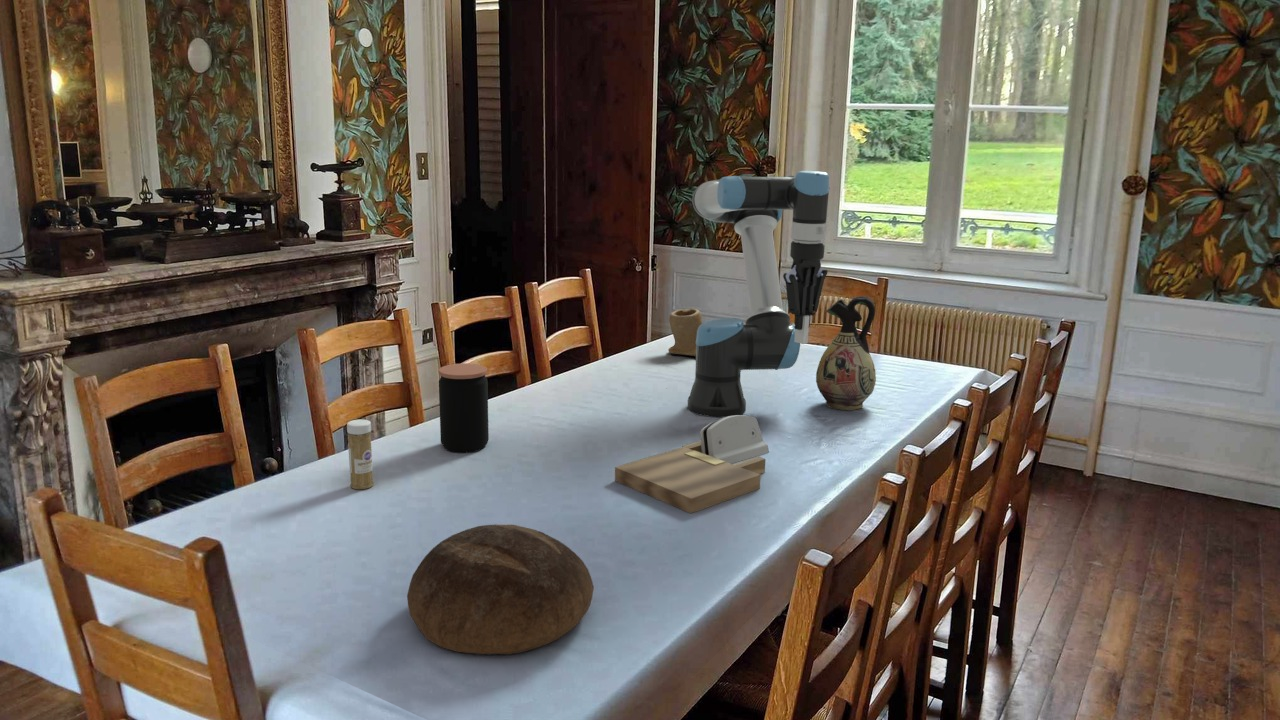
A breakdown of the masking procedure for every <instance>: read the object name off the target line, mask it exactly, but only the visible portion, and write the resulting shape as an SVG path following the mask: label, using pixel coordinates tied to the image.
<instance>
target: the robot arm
mask: <svg viewBox="0 0 1280 720" xmlns="http://www.w3.org/2000/svg"><path fill="white" fill-rule="evenodd" d="M830 189H831V188H830V175H829V174H828V173H827V172H825V171H817V170H799V171H798V172H796V174H795V175H788V176H738V175H731V176H730V175H729V176H723V177H721V178H720V179H715V180H713V179H712V180H709V181H705V182H703V183H701V184H700V185H698V186H697V187H696V189H695V190H694V192H693V194H692V198H691V199H692V200H691V202H692V206H693V209H694V211H695V212H696V213H697V214H698V215H699V216H700V217H701V218H702V219H706V220H708V221H711V222H715V223H722V224H726V223H728V224H733V228H734V231H735V234H738V235H739V236H740V239H741V245H742V246H741V248H742V254H743V255H742V256H743V264H744V272H745V273H744V274H745V281H746V288H747V289H746V291H747V297H748V306H749V314H750V315H749V316H748V317H747V318H746V320H745V324H744V322H743V320H742V319H741V318H735V317H732V318H730V317H721V318H715V319H710V320H707V321H703V322H702V324H701V325H700V326H699V327H698V330H697V338H696V356H695V372H694V376H695V377H694V380H693V385H692V387H691V390H690V393H689V396H688V398H687V410H688V411H689V412H690V413H693V414H697V415H700V416H704V417H713V418H723V417H727V416H734V415H742V414H744V413H745V412H746V410H747V409H746V408H747V402H746V398H745V397H744V392H743V387H742V384H741V372H742V371H745V370H746V371H748V370H749V371H752V370H753V371H754V370H755V371H756V370H758V371H759V370H774V371H776V370H777V371H778V370H782V369H783V370H785V369H786V370H787V369H790V368H792V367H794V365H795V364H796V363H797V361H798V358H799V355H800V348H801V345H805V344H808V342H809V339H808V338H809V330H810V329H809V328H810V326H811V316H815V315H816V312H818V309H819V304H820V300H821V297H822V296H821V295H822V292H823V287H824V282H825V279H826V277H827V275H828V273H829V272H828V270H827V269H823V268H822V263H821V260H823V259H824V258H825V243H824V242H823V241H825V240H826V227H827V217H828V206H829V205H828V204H829V194H830ZM783 210H784V211H785V210H786V211H789V210H792V221H791V234H790V235H791V236H790V239H792V241H791V242H790V250H789V251H790V253H789V256H790V257H791V259H792V260H793V261H792V264H791V270H789V272H784V273H783V275H782V277H783V280H784V282H785V288H786V297H787V298H786V299H787V307H788V312H786V311H785V310H784V308H783V300H782V292H781V284H780V278H779V270H778V263H777V255H776V254H777V253H776V247H775V242H774V241H775V240H774V239H775V238H774V232H773V231H774V230H775V229H776V227H778V223H779V222H780V221H781V219H782V216H783ZM789 313H790V314H791V315H794V322H793V323H791V317H790V314H789Z"/></svg>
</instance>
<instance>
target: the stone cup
mask: <svg viewBox="0 0 1280 720" xmlns="http://www.w3.org/2000/svg"><path fill="white" fill-rule="evenodd" d="M668 319H669V320H668V321H669V326H670V331H671V334H672V336H673V339H674V344H673V345H672V346H670V347H669V348H668V352H669V353H670V354H673V355H681V356H689V357H696V338H697V330H698V327H699V326H700V325H701V324H702V323H703V315H702V313H701V311H700V310H699V309H697V308H689V309H685V308H681V309H677V310H674V311H673V312H670V314H669V318H668Z"/></svg>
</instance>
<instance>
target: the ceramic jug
mask: <svg viewBox="0 0 1280 720" xmlns="http://www.w3.org/2000/svg"><path fill="white" fill-rule="evenodd" d="M857 305H861V306H865V307H867V310H868V314H867V318H866V320H865V323H864V325H863V327H862V329H861V331H860V333H859V331H858V329H857V326H856V322H861V321H862V320H863V317H862V315H861V314H860V312H859V311H858V310H857V309H856V307H855V306H857ZM875 306H876V305H875V303H874V301H873V300H872V299H871V298H870V297H867V296H856V297H853V298H852V299H851V300H850V301H849V303H848V304H846V302H845V301H844V300H843V299H842V298H840V299H839V300H838V301H836V302H835V303H834V304H833V305H831V306H829V308H828V309H827V310H826V311H825V312H826V313H828V314H830V315H832V316H834V317H837V318H838V319H839V320H840V321H841V323H842V325H841V328H840V330H839V331H838V333H837V334H836V336H834V338H833V339H832V341H831V342H830V343H829V345H828V346H827V347H826V349H825V350H824V352H823V353H822V355H821V357H820V360H819V363H818V365H817V369H816V373H815V377H816V378H815V383H816V385H817V389H818V391H819V393H820V394H821V396H822V397H823V399H824V400H825V404H826V406H827V407H828V408H830V409H833V408H834V410H840V411H854V410H858V409H862V408H863V407H864V405H863V404H864V402H865V401H866V400H868V398H869V397H870V396H871V395H872V394H873V392H874V389H875V386H876V382H877V376H876V375H877V373H876V367H875V364H874V360H873V358H872V356H871V353H870V350H869V349H870V348H869V344H868V338H867V335H868V333H869V331H870V328H871V326H872V323H873V322H874V318H875V317H876V315H875V314H876V307H875Z"/></svg>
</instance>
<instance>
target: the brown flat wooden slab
mask: <svg viewBox="0 0 1280 720" xmlns="http://www.w3.org/2000/svg"><path fill="white" fill-rule="evenodd" d="M765 471H766V458H765V457H761V456H760V455H759V456H756V457H752V458H749V459H746V460H743V461H739V462H736V463H733V464H730V463H727V462H725V461H722V460H720V459H717V458H714V457H711V456H708V455H706V454H703V453H702V449H701V440H699V441H696V442H693V443H689V444H686V445H682V447H679V448H676V449H672V450H669V451H666V452H662V453H658V454H654V455H652V456H649V457H645V458H642V459H637V460H635V461H631V462H627V463H625V464H621V465H618V466H615V467H614V481H615V482H617V483H619V484H622V485H623V486H626V487H628V488H630V489H632V490H635V491H638V492H640V493H643V494H645V495H647V496H650V497H651V498H654V499H657V500H659V501H662V502H663V503H666V504H668V505H670V506H673V507H675V508H677V509H680V510H682V511H684V512H685V513H686V512H687V513H688V514H693V513H695V512H698V511H701V510H704V509H707V508H709V507H712V506H715V505H718V504H720V503H723V502H726V501H729V500H732V499H735V498H738V497H740V496H743V495H746V494H749V493H752V492H754V491H757V490H759V489H760V488H761V476H762V475H761V474H764V473H765Z"/></svg>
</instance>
